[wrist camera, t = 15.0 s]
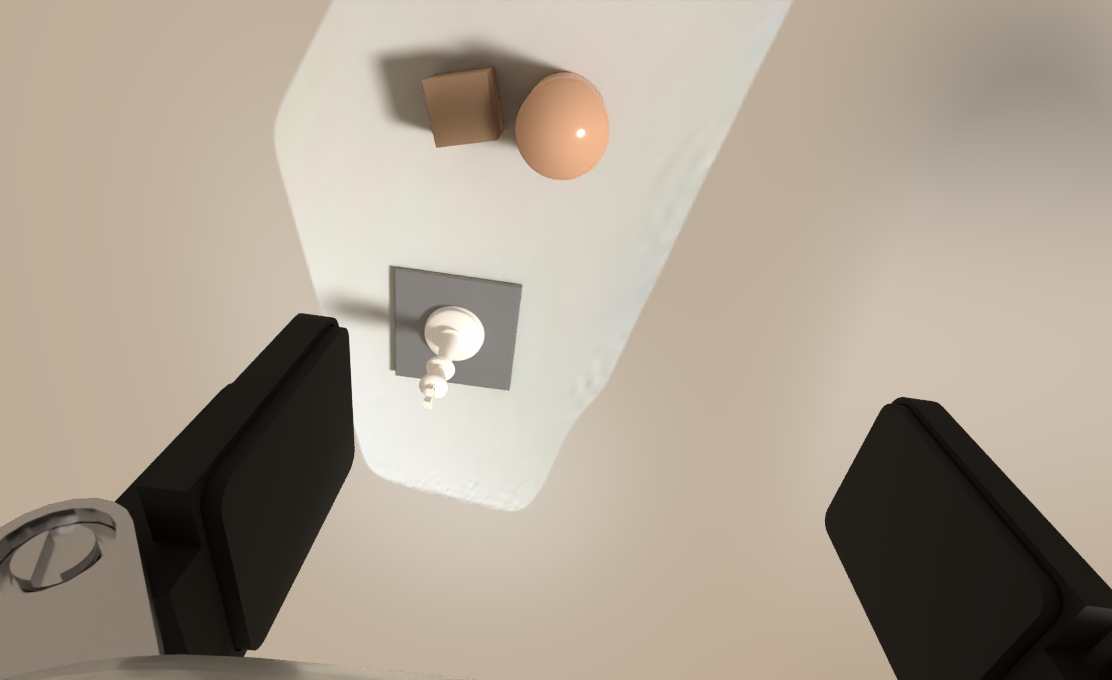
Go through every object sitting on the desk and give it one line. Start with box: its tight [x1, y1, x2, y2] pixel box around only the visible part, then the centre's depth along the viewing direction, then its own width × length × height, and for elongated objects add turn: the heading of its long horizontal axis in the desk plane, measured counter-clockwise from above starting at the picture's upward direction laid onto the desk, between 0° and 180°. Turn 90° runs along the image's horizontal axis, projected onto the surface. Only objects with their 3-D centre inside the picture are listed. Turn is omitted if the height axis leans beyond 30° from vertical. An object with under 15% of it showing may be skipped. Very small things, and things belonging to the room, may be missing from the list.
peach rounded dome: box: [515, 72, 609, 180], centre depth 36 cm, size 6×6×6 cm
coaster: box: [395, 267, 522, 391], centre depth 47 cm, size 10×10×1 cm
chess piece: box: [419, 306, 484, 409], centre depth 43 cm, size 5×5×10 cm
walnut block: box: [421, 66, 504, 148], centre depth 37 cm, size 4×4×4 cm
